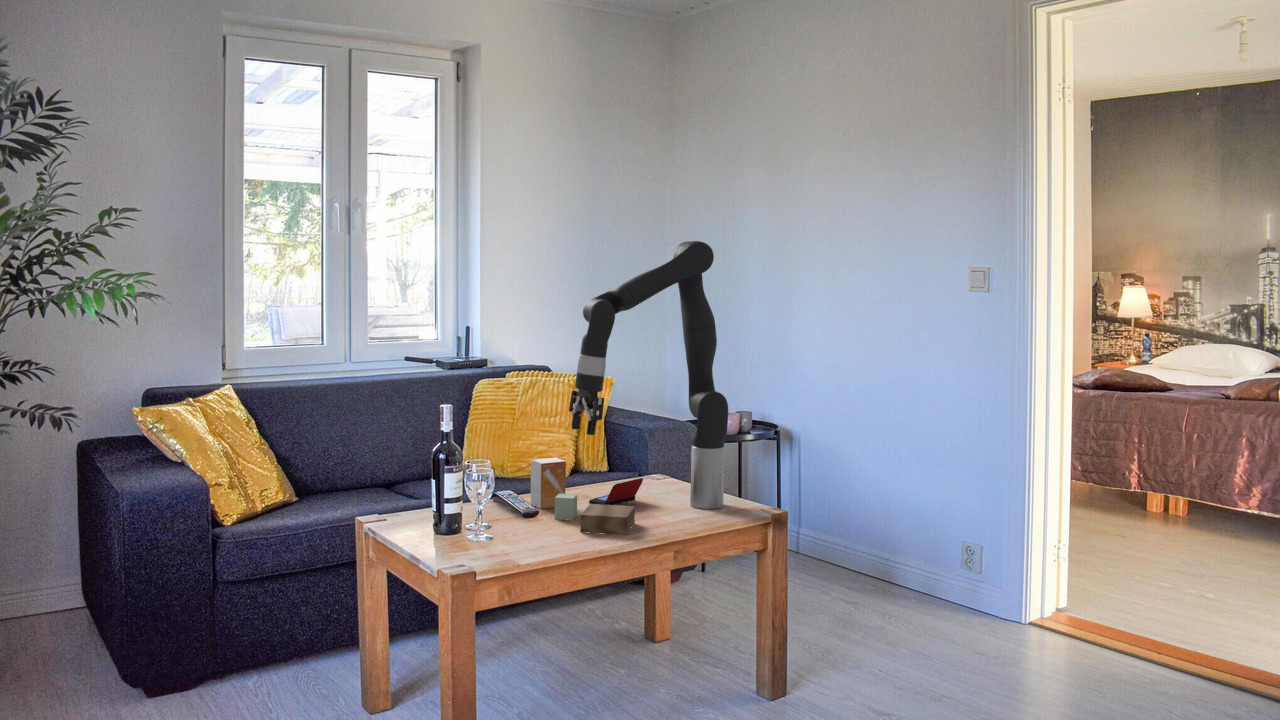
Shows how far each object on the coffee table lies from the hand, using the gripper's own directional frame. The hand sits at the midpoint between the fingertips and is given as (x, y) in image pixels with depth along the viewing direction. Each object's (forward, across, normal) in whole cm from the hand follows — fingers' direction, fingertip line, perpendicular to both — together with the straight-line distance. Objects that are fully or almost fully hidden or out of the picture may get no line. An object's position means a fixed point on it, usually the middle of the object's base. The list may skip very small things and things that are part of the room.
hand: (582, 431), depth 270 cm
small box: (+24, +13, 0) cm, 27 cm away
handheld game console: (+22, +7, -18) cm, 29 cm away
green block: (+23, -1, +2) cm, 24 cm away
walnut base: (+23, -16, -2) cm, 28 cm away
